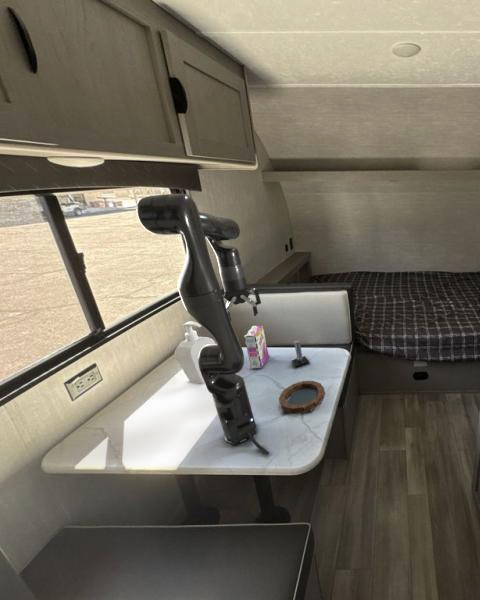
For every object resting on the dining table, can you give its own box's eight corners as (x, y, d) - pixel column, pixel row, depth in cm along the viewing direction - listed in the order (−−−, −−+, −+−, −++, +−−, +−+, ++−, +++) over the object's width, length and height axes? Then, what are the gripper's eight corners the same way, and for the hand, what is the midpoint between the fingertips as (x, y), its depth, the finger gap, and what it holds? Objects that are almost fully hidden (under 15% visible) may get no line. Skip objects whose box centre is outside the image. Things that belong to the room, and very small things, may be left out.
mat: (311, 412, 111) (310, 410, 111) (283, 413, 111) (282, 411, 111) (320, 387, 124) (320, 386, 124) (295, 388, 124) (295, 386, 124)
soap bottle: (204, 386, 127) (186, 330, 118) (184, 384, 129) (165, 328, 120) (226, 369, 138) (211, 317, 129) (207, 367, 140) (191, 315, 131)
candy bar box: (262, 368, 138) (255, 335, 132) (251, 369, 138) (243, 336, 132) (269, 355, 149) (263, 324, 143) (258, 356, 148) (251, 325, 142)
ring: (330, 400, 115) (330, 396, 114) (286, 419, 107) (285, 414, 106) (316, 380, 127) (315, 375, 127) (275, 395, 119) (274, 390, 119)
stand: (309, 363, 141) (305, 342, 136) (296, 368, 138) (291, 346, 133) (305, 358, 145) (301, 337, 141) (292, 362, 142) (288, 340, 138)
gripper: (211, 283, 104) (222, 326, 110) (256, 275, 111) (265, 316, 117) (209, 278, 110) (220, 319, 116) (252, 271, 117) (261, 310, 123)
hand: (243, 318), depth 116 cm, fingers open, 8 cm apart
